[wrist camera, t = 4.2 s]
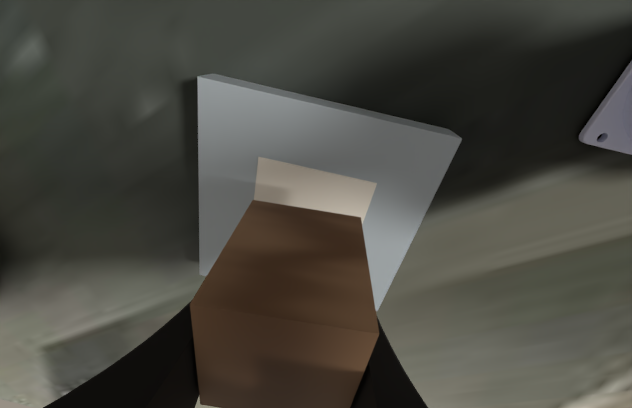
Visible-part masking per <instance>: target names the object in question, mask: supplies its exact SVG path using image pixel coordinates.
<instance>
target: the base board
mask: <svg viewBox="0 0 632 408" xmlns="http://www.w3.org/2000/svg"><path fill="white" fill-rule="evenodd" d="M197 78H198V170H199V262H200V275H203V276H207V275H208V273H209V272H210V270H211V268H212V267H213V265H214V263H215V262H216V260H217V258H218V257H219V255H220V253H221V252H222V250H223V248H224V247H225V245H226V243H227V242H228V240H229V238H230V237H231V235H232V233H233V232H234V230H235V228H236V227H237V225H238V223H239V222H240V220H241V218H242V217H243V215H244V213H245V212H246V210H247V208H248V207H249V205H250V204H251V202H252V200H258V201H264V202H270V203H276V204H282V205H288V206H295V207H301V208H307V209H313V210H319V211H326V212H332V213H338V214H344V215H350V216H357V217H361V221H362V228H363V234H364V240H365V247H366V253H367V259H368V266H369V272H370V278H371V284H372V291H373V297H374V303H375V310H376V311H378V309H379V307H380V305H381V303H382V301H383V299H384V297H385V295H386V293H387V291H388V289H389V286H390V284H391V282H392V280H393V278H394V276H395V274H396V272H397V270H398V268H399V266H400V264H401V262H402V260H403V258H404V256H405V254H406V252H407V250H408V248H409V246H410V244H411V242H412V240H413V238H414V236H415V234H416V232H417V230H418V228H419V226H420V224H421V222H422V220H423V218H424V216H425V214H426V211H427V209H428V207H429V205H430V203H431V201H432V199H433V197H434V195H435V193H436V191H437V189H438V187H439V185H440V183H441V181H442V179H443V177H444V175H445V173H446V171H447V169H448V167H449V165H450V163H451V161H452V159H453V157H454V155H455V153H456V151H457V149H458V147H459V145H460V143H461V141H462V138H461V137H459V136H458V135H456V134H455V133H454V132H452V131H451V130H449V129H446V128H442V127H438V126H434V125H429V124H425V123H421V122H417V121H412V120H408V119H404V118H400V117H395V116H391V115H387V114H383V113H379V112H374V111H370V110H366V109H362V108H357V107H353V106H349V105H345V104H340V103H336V102H332V101H328V100H323V99H319V98H315V97H311V96H307V95H302V94H298V93H294V92H290V91H285V90H281V89H277V88H273V87H268V86H264V85H260V84H256V83H251V82H247V81H243V80H239V79H234V78H230V77H226V76H222V75H218V74H208V75H203V76H197Z"/></svg>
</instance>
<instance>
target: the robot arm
mask: <svg viewBox="0 0 632 408" xmlns="http://www.w3.org/2000/svg"><path fill="white" fill-rule="evenodd" d="M600 134H602V136H601V137H600V138H599V139H598V140H597V138H598V136H599V135H600ZM579 140H580V141H581V142H583V143H585V144H589V145H593V146H597V147H601V148H605V149H610V150H614V151H618V152H622V153H626V154H631V155H632V61H631V62H630V63H629V65H628V66H627V68H626V69H625V70H624V72H623V73H622V75H621V76H620V77H619V79H618V80H617V82H616V83H615V85H614V86H613V87H612V89H611V90H610V92H609V93H608V94H607V96H606V97H605V99H604V100H603V101H602V103H601V104H600V106H599V107H598V108H597V110H596V111H595V113H594V114H593V116H592V117H591V118H590V120H589V121H588V123H587V124H586V125H585V127H584V128H583V130H582V131H581V133H580V135H579ZM190 303H191V302H190ZM190 303H189V304H187V305H186V306H185V307H184V308H183V309H182V310H181V311H180V312H179V313H178V314H177V315H175V316H174V317H173V318H172V319H171V320H170V321H169V322H167V323H166V324H165V325H164V326H163V327H162V328H160V329H159V330H158V331H157V332H156V333H154V334H153V335H152V336H151V337H149V338H148V339H147V340H146V341H144V342H143V343H142V344H140V345H139V346H138V347H136V348H135V349H134V350H132V351H131V352H129V353H128V354H127V355H125V356H124V357H122V358H121V359H120V360H118V361H117V362H115V363H114V364H113V365H111V366H110V367H108V368H107V369H105V370H104V371H102V372H101V373H99V374H98V375H96V376H94V377H93V378H91V379H90V380H88V381H87V382H85V383H83V384H82V385H80V386H79V387H77V388H75V389H74V390H72V391H71V392H69V393H68V394H66V395H64V396H63V397H61V398H59V399H58V400H56V401H54V402H52V403H51V404H49V405H47V406H45V407H43V408H195V405H196V402H197V399H198V397H199V386H198V376H197V367H196V357H195V348H194V339H193V329H192V320H191V311H190ZM376 316H377V315H376ZM377 322H378V329H379V336H378V339H377V341H376V344H375V346H374V349H373V351H372V354H371V356H370V359H369V361H368V364H367V366H366V369H365V371H364V374H363V376H362V379H361V381H360V384H359V386H358V389H357V391H356V394H355V396H354V399H353V401H352V404H351V406H350V408H428V407H427V405H426V404H425V402H424V401H423V399H422V398H421V396H420V395H419V393H418V392H417V390H416V389H415V387H414V386H413V384H412V382H411V381H410V379H409V377H408V376H407V374H406V372H405V371H404V369H403V367H402V366H401V364H400V362H399V360H398V358H397V356H396V355H395V353H394V351H393V349H392V347H391V345H390V343H389V341H388V339H387V337H386V335H385V333H384V331H383V329H382V327H381V324H380V322H379V320H378V318H377Z"/></svg>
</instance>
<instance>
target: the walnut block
mask: <svg viewBox="0 0 632 408" xmlns="http://www.w3.org/2000/svg"><path fill="white" fill-rule="evenodd" d="M190 311H191V320H192V329H193V339H194V348H195V357H196V367H197V376H198V386H199V395H200V404H201V405H208V406H214V407H221V408H350V406H351V404H352V401H353V399H354V396H355V394H356V391H357V389H358V386H359V384H360V381H361V379H362V376H363V374H364V371H365V369H366V366H367V364H368V361H369V359H370V356H371V354H372V351H373V349H374V346H375V344H376V341H377V339H378V336H379V329H378V322H377V316H376V310H375V303H374V297H373V291H372V284H371V278H370V272H369V266H368V259H367V253H366V247H365V240H364V234H363V228H362V221H361V217H357V216H350V215H344V214H338V213H332V212H326V211H319V210H313V209H307V208H301V207H295V206H288V205H282V204H276V203H270V202H264V201H258V200H252V202H251V204H250V205H249V207H248V208H247V210H246V212H245V213H244V215H243V217H242V218H241V220H240V222H239V223H238V225H237V227H236V228H235V230H234V232H233V233H232V235H231V237H230V238H229V240H228V242H227V243H226V245H225V247H224V248H223V250H222V252H221V253H220V255H219V257H218V258H217V260H216V262H215V263H214V265H213V267H212V268H211V270H210V272H209V273H208V275H207V277H206V278H205V280H204V281H203V283H202V285H201V286H200V288H199V290H198V291H197V293H196V295H195V296H194V298H193V300H192V301H191V303H190Z"/></svg>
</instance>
